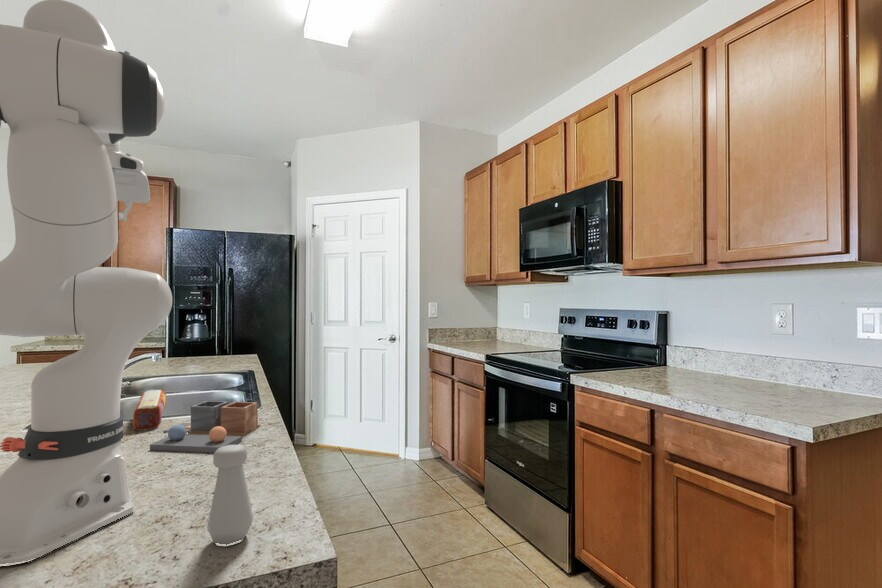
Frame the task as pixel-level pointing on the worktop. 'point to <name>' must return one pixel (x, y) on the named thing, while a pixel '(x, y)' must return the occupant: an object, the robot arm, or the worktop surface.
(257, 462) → the worktop surface
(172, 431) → the ball blue
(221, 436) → the ball terracotta
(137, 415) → the snack package
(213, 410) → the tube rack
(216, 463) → the salt shaker
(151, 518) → the worktop surface
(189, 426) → the card
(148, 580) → the worktop surface
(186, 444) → the grey flat slab
